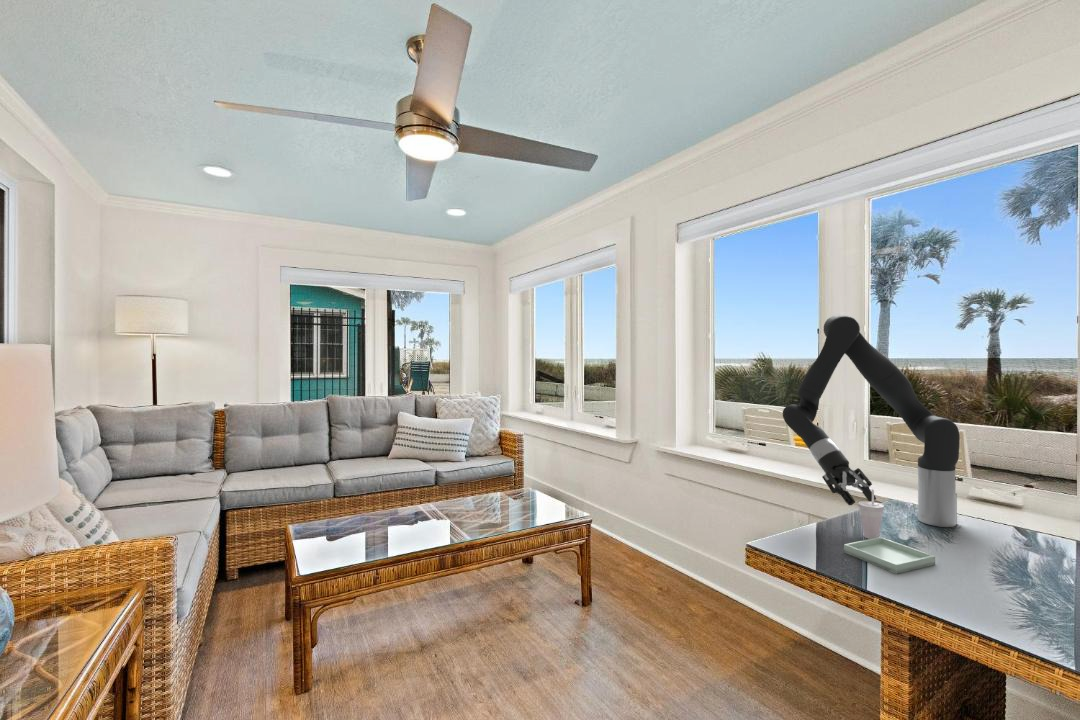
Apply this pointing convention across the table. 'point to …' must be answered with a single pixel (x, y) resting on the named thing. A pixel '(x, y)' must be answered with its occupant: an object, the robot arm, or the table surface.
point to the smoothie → (871, 517)
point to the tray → (889, 555)
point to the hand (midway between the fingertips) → (863, 502)
